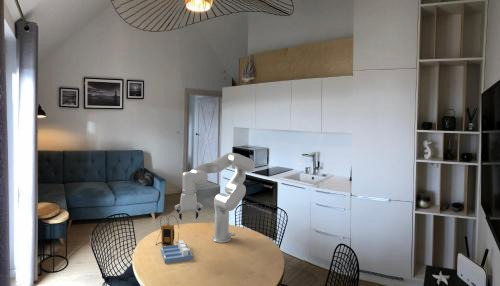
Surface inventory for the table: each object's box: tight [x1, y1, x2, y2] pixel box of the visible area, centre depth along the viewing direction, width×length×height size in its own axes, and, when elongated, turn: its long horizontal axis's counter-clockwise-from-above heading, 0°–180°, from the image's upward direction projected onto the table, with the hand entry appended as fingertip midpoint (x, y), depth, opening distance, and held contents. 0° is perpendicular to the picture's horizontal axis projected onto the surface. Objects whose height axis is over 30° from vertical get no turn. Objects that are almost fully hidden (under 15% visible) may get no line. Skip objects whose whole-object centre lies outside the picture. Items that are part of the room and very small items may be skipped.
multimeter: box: [155, 214, 180, 246], centre depth 211 cm, size 15×10×20 cm
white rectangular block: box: [180, 243, 186, 252], centre depth 195 cm, size 3×4×4 cm
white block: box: [177, 239, 185, 248], centre depth 201 cm, size 3×4×4 cm
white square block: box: [182, 247, 188, 256], centre depth 190 cm, size 3×4×4 cm
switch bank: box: [160, 243, 194, 264], centre depth 194 cm, size 16×18×3 cm
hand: (188, 218), depth 202 cm, fingers open, 9 cm apart
